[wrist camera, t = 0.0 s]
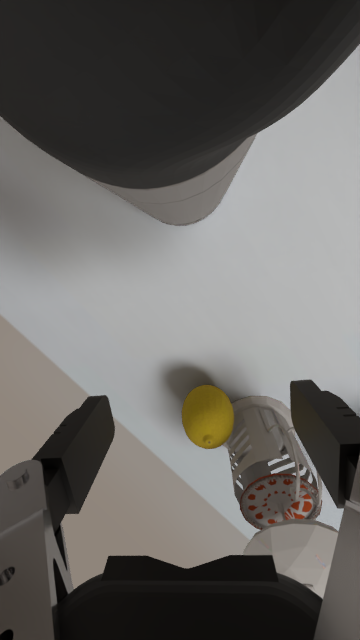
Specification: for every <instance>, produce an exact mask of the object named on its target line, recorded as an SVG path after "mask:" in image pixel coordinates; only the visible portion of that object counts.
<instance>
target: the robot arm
mask: <svg viewBox="0 0 360 640" xmlns="http://www.w3.org/2000/svg"><path fill="white" fill-rule="evenodd" d="M359 44H360V0H0V116H1V117H2V118H3V119H4V120H5V121H6V122H8V123H9V124H10V125H11V126H12V127H13V128H15V129H16V130H17V131H18V132H19V133H21V134H22V135H23V136H24V137H25V138H27V139H28V140H29V141H31V142H32V143H34V144H35V145H36V146H38V147H39V148H41V149H42V150H44V151H45V152H46V153H48V154H49V155H51V156H53V157H54V158H56V159H58V160H59V161H61V162H63V163H64V164H66V165H68V166H70V167H71V168H73V169H74V170H76V171H78V172H79V173H81V174H83V175H85V176H86V177H88V178H90V179H91V180H93V181H95V182H96V183H98V184H100V185H101V186H103V187H105V188H106V189H108V190H110V191H111V192H113V193H115V194H116V195H118V196H120V197H121V198H123V199H125V200H126V201H128V202H129V203H131V204H133V205H134V206H136V207H138V208H139V209H141V210H143V211H144V212H146V213H147V214H149V215H151V216H152V217H154V218H156V219H157V220H159V221H161V222H163V223H166V224H170V225H175V226H186V225H190V224H194V223H197V222H199V221H201V220H203V219H204V218H206V217H207V216H208V215H209V214H211V213H212V212H213V211H214V210H215V208H216V207H217V206H218V205H219V203H220V202H221V200H222V198H223V196H224V195H225V193H226V191H227V190H228V188H229V186H230V184H231V182H232V180H233V178H234V176H235V175H236V173H237V171H238V169H239V167H240V165H241V163H242V161H243V160H244V158H245V156H246V154H247V152H248V150H249V148H250V147H251V145H252V143H253V141H254V139H255V137H256V135H257V133H258V132H260V131H262V130H263V129H265V128H267V127H269V126H270V125H272V124H273V123H275V122H277V121H278V120H280V119H281V118H283V117H285V116H286V115H287V114H288V113H290V112H291V111H292V110H294V109H295V108H296V107H298V106H299V105H300V104H302V103H303V102H304V101H305V100H306V99H307V98H308V97H309V96H310V95H312V94H313V93H314V92H315V91H316V90H317V89H318V88H319V87H320V86H321V85H322V84H323V83H324V82H325V81H326V80H327V79H328V78H329V77H330V76H331V75H332V74H333V73H334V72H335V71H336V69H337V68H338V67H339V66H340V65H341V64H342V63H343V62H344V61H345V60H346V59H347V58H348V56H349V55H350V54H351V53H352V52H353V51H354V50H355V49H356V47H357V46H358V45H359ZM290 400H291V419H292V423H293V426H294V429H295V431H296V433H297V435H298V436H299V438H300V440H301V442H302V444H303V446H304V447H305V449H306V451H307V453H308V455H309V457H310V459H311V460H312V462H313V464H314V466H315V468H316V470H317V471H318V473H319V475H320V477H321V479H322V481H323V482H324V484H325V486H326V488H327V490H328V492H329V494H330V495H331V497H332V499H333V501H334V503H335V505H336V506H337V508H344V511H343V515H342V520H341V524H340V528H339V532H338V537H337V541H336V545H335V550H334V554H333V558H332V562H331V567H330V571H329V575H328V580H327V584H326V588H325V592H324V597H323V599H322V598H321V597H320V596H319V595H317V594H316V593H315V592H313V591H312V590H311V589H309V588H308V587H306V586H305V585H303V584H301V583H300V582H298V581H296V580H294V579H292V578H290V577H288V576H285V575H283V574H280V573H277V572H276V568H275V563H274V559H273V555H229V556H226V557H223V558H220V559H217V560H214V561H211V562H208V563H205V564H202V565H199V566H196V567H193V568H189V569H184V568H181V567H178V566H175V565H173V564H170V563H166V562H164V561H161V560H158V559H154V558H152V557H149V556H108V559H107V563H106V566H105V569H104V573H103V574H100V575H98V576H95V577H93V578H91V579H89V580H87V581H86V582H84V583H83V584H81V585H79V586H78V587H77V588H76V589H73V584H72V579H71V573H70V567H69V561H68V555H67V549H66V543H65V537H64V531H63V527H62V524H61V521H62V519H63V518H64V515H65V514H79V512H80V510H81V507H82V505H83V503H84V501H85V499H86V497H87V494H88V492H89V490H90V488H91V486H92V484H93V482H94V479H95V477H96V475H97V473H98V471H99V469H100V467H101V464H102V462H103V460H104V458H105V455H106V454H107V451H108V449H109V447H110V445H111V443H112V441H113V438H114V431H115V426H114V421H113V417H112V412H111V408H110V404H109V400H108V397H107V396H106V395H102V396H90V397H88V398H87V399H86V400H85V402H84V403H83V404H82V406H81V407H80V408H79V409H76V410H75V411H73V412H72V413H71V414H69V415H68V416H67V417H66V418H65V419H64V421H63V422H62V423H61V424H60V426H59V427H58V428H57V429H56V430H55V431H54V434H52V435H51V436H50V437H49V439H48V440H47V441H46V442H45V444H44V445H43V446H42V447H41V449H40V450H39V451H38V452H37V454H36V455H35V456H34V457H33V458H32V460H27V461H24V462H21V463H18V464H16V465H14V466H12V467H11V468H9V469H8V470H6V471H5V472H4V473H3V474H1V475H0V640H360V417H359V416H357V415H356V413H355V412H354V411H353V410H352V409H351V408H350V409H349V406H348V405H347V404H346V403H345V402H344V401H343V400H342V399H341V398H340V397H338V396H336V395H334V394H332V393H331V392H329V391H321V390H320V389H319V388H318V386H317V385H316V384H315V383H314V382H313V381H312V380H299V381H291V384H290Z"/></svg>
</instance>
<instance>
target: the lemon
mask: <svg viewBox="0 0 360 640" xmlns="http://www.w3.org/2000/svg"><path fill="white" fill-rule="evenodd" d="M182 422H183V427H184V429H185V432H186V434H187V436H188V437H189V439H190V440H191V441H192V442H193V443H194V444H195V445H197V446H199V447H202V448H205V449H213V448H217V447H219V446H221V445H223V444H224V443H225V442H226V441H227V440H228V439H229V437H230V435H231V433H232V430H233V424H234V413H233V407H232V404H231V402H230V400H229V398H228V397H227V395H226V394H225V393H224V392H223V391H222V390H220V389H219V388H217V387H215V386H211V385H202V386H198V387H196V388H195V389H193V390H192V391H191V392H190V393H189V394H188V395H187V397H186V399H185V401H184V404H183V408H182Z"/></svg>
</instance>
